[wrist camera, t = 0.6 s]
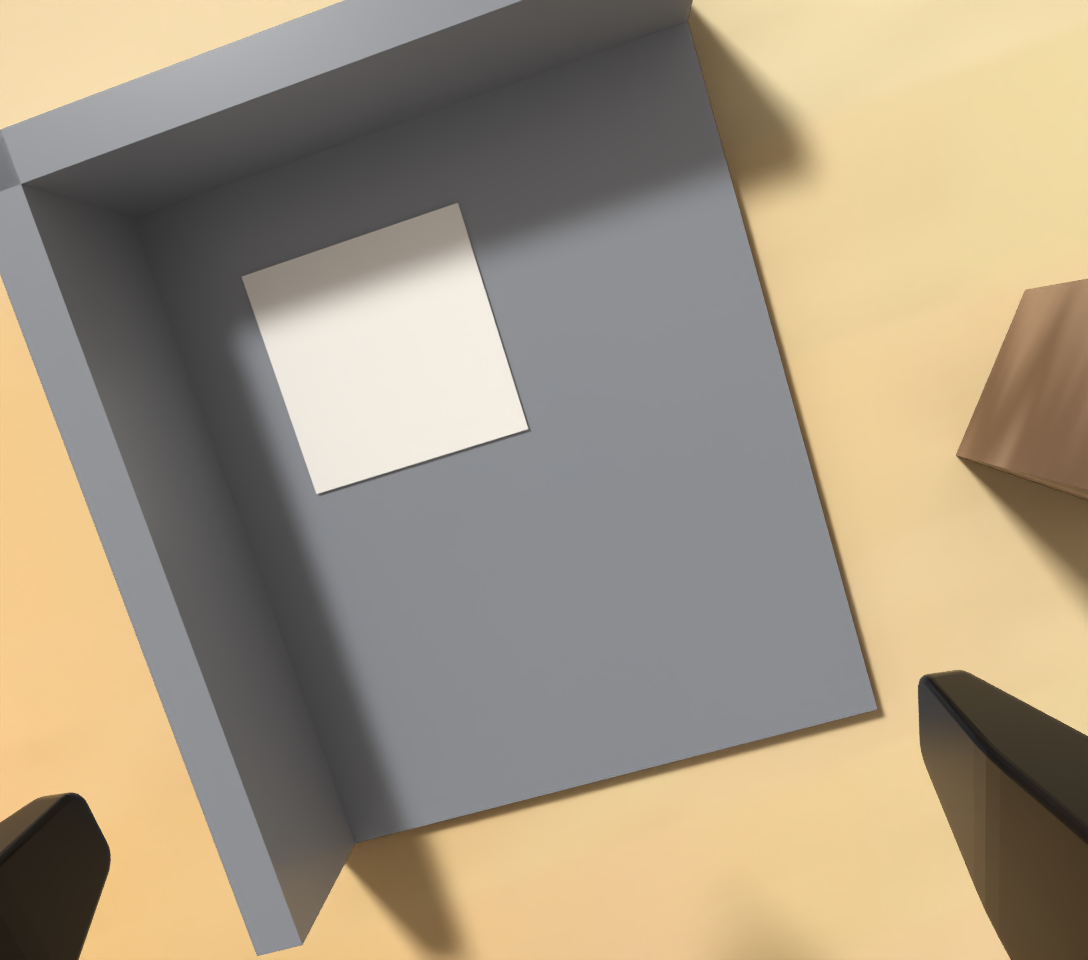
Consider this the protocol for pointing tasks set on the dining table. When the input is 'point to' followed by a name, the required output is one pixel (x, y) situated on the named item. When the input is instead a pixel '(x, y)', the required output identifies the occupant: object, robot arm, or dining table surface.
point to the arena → (426, 419)
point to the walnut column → (1038, 394)
